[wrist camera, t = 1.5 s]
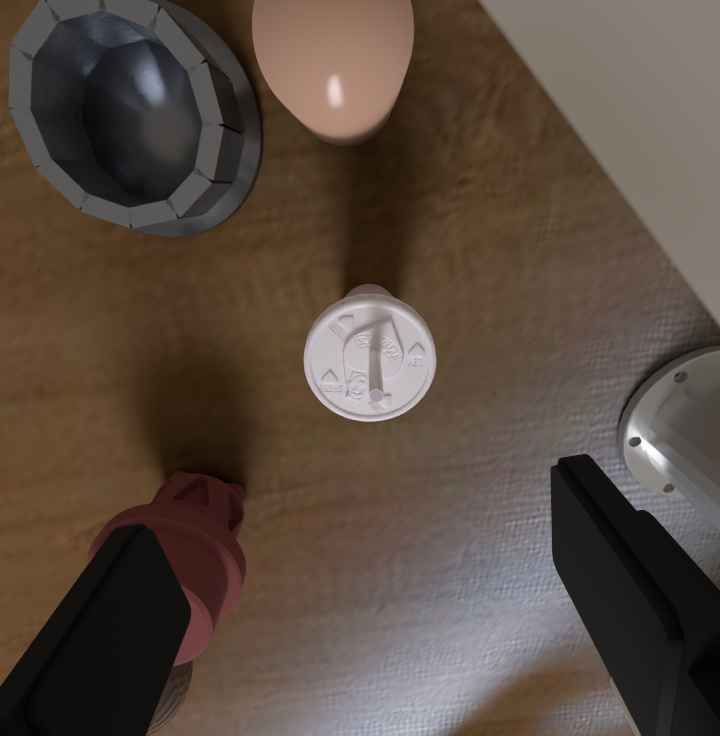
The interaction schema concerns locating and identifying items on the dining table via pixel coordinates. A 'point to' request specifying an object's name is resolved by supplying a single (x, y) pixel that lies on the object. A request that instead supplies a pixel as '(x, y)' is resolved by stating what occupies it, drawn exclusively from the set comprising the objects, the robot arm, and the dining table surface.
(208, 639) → the mechanical component
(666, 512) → the dining table surface
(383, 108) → the peach rounded cylinder
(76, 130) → the ring socket
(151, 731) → the vase
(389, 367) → the smoothie
